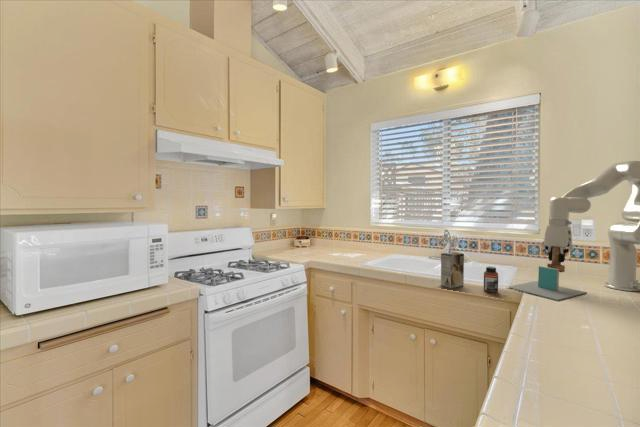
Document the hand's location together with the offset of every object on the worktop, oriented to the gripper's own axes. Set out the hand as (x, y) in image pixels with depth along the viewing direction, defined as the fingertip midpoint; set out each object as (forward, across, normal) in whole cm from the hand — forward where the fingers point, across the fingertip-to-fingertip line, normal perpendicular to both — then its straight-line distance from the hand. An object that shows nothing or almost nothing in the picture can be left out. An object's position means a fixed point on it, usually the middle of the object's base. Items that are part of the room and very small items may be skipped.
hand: (556, 260), depth 154 cm
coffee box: (+14, +26, +40) cm, 50 cm away
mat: (+13, 0, +8) cm, 16 cm away
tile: (+8, 0, +6) cm, 10 cm away
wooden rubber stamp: (+5, 0, 0) cm, 5 cm away
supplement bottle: (+14, +11, +32) cm, 37 cm away
